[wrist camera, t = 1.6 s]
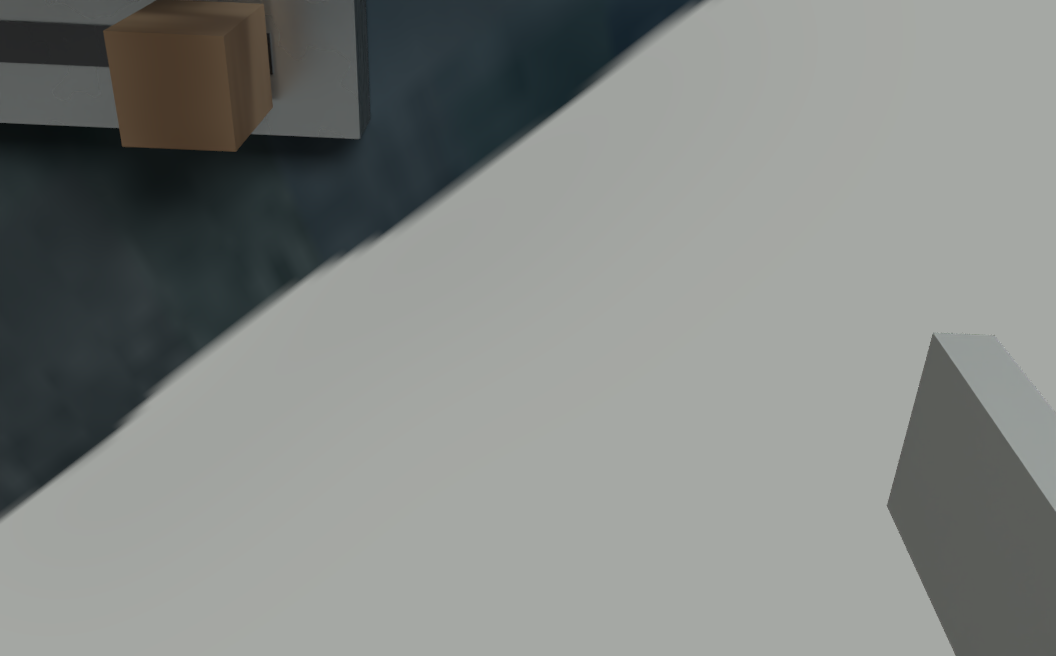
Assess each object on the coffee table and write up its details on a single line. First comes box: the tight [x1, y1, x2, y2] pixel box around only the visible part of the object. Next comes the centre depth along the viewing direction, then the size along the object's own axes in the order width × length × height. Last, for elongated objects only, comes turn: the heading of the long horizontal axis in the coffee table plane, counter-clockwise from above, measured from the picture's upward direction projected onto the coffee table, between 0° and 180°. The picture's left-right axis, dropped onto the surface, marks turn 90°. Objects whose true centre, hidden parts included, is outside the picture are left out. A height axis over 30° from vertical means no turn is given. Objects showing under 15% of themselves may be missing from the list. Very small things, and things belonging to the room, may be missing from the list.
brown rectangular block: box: [103, 0, 273, 152], centre depth 27 cm, size 3×3×4 cm
